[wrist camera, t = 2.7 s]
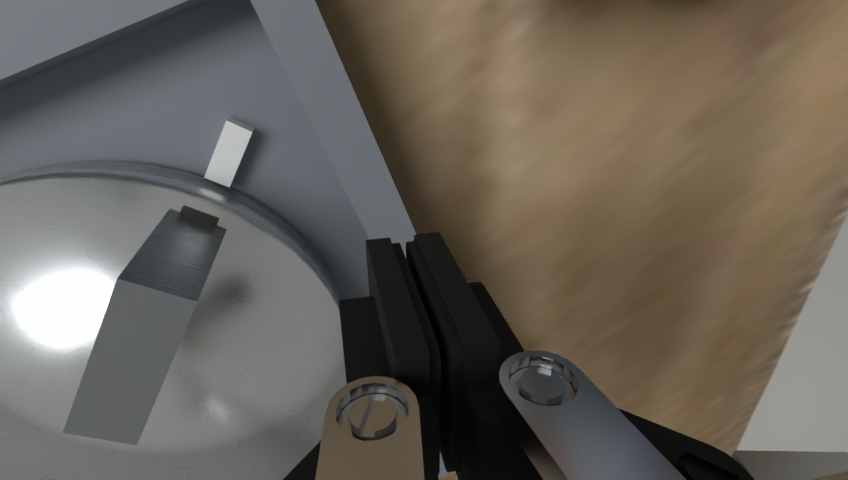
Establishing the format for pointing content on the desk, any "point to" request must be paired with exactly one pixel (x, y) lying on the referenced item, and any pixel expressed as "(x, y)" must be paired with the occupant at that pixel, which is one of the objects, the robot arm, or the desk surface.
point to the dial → (157, 329)
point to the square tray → (204, 109)
